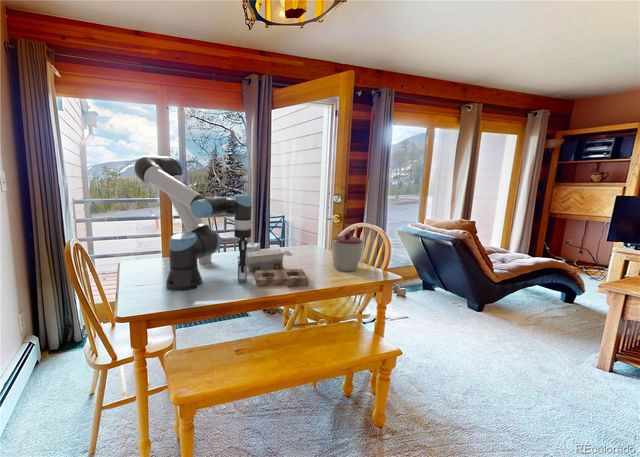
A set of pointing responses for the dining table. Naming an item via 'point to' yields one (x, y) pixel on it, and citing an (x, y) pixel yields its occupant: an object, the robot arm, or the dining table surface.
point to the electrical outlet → (266, 260)
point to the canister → (346, 252)
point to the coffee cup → (205, 259)
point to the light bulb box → (252, 247)
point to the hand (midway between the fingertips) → (242, 276)
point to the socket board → (281, 278)
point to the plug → (245, 272)
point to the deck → (235, 282)
